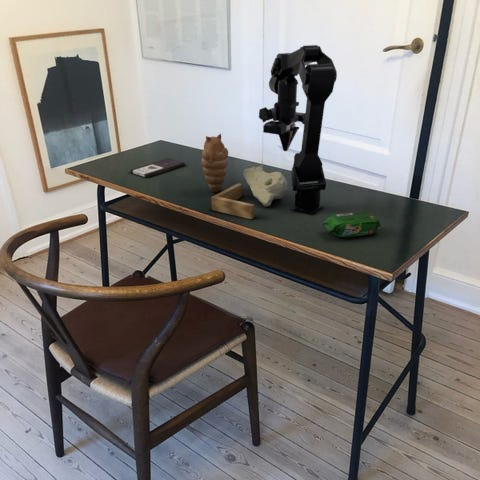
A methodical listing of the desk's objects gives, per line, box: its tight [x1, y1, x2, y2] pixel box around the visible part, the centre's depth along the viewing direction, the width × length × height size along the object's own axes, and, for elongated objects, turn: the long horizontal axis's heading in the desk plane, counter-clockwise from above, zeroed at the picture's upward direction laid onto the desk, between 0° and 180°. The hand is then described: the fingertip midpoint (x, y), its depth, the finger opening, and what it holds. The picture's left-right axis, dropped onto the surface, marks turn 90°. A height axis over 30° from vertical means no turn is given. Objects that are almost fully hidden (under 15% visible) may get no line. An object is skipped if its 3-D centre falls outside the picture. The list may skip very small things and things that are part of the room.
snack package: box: [322, 211, 381, 238], centre depth 139 cm, size 7×16×5 cm, turn 103°
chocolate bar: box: [129, 157, 186, 178], centre depth 190 cm, size 9×1×18 cm
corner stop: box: [210, 182, 255, 220], centre depth 157 cm, size 14×14×4 cm
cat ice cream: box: [200, 133, 229, 193], centre depth 165 cm, size 9×8×18 cm
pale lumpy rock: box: [242, 165, 289, 208], centre depth 162 cm, size 15×7×15 cm
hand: (285, 150), depth 168 cm, fingers closed
